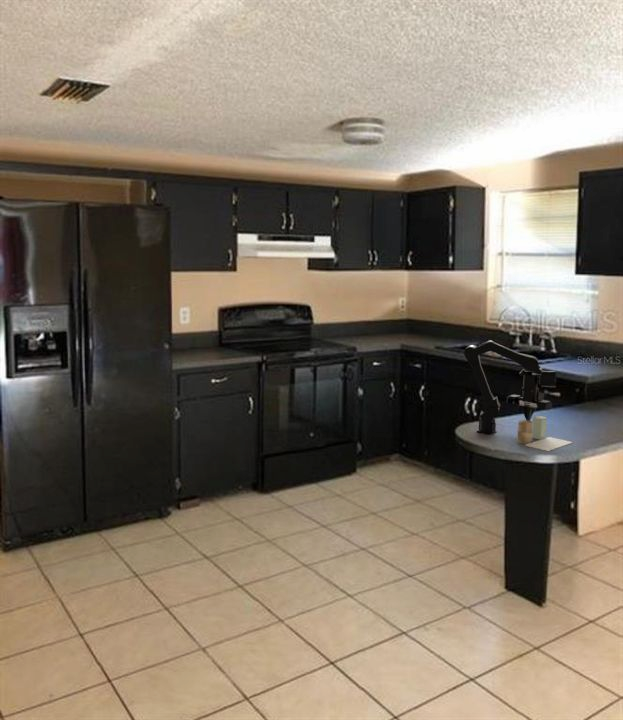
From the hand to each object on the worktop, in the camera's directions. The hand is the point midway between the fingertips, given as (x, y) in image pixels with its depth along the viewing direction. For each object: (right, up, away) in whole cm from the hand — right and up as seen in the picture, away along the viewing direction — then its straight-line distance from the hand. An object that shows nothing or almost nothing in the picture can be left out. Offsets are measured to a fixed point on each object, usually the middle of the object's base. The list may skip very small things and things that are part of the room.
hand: (528, 421), depth 297 cm
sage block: (+4, -7, -3) cm, 8 cm away
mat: (+5, -8, -13) cm, 16 cm away
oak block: (-5, -8, -10) cm, 14 cm away
